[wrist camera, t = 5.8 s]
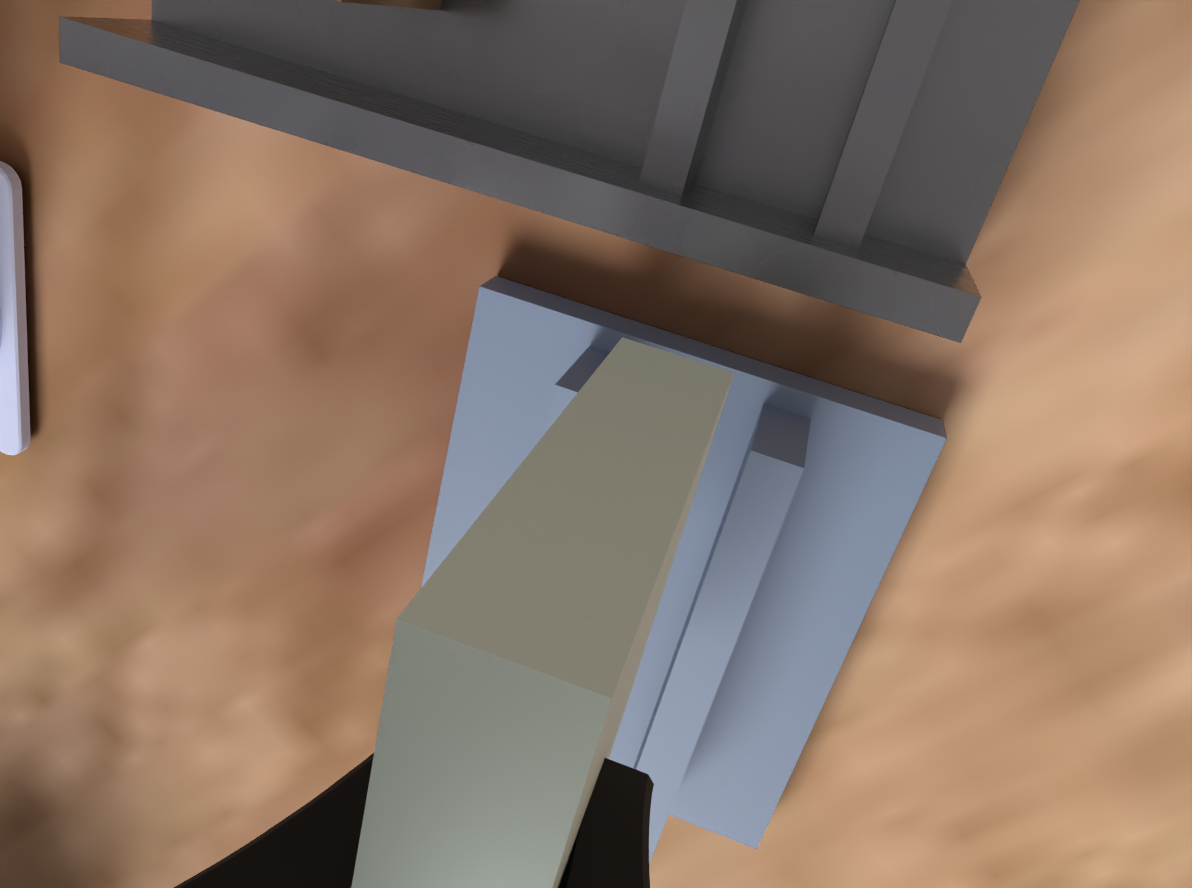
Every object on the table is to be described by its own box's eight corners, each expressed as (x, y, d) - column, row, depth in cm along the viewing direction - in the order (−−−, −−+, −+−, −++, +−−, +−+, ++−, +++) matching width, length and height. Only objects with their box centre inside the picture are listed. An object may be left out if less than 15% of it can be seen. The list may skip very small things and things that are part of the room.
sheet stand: (413, 685, 26) (352, 772, 23) (495, 275, 21) (431, 317, 17) (760, 820, 25) (745, 932, 21) (943, 419, 19) (959, 492, 16)
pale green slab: (492, 835, 17) (283, 1287, 11) (622, 337, 13) (396, 618, 7) (573, 868, 17) (408, 1347, 11) (734, 372, 13) (612, 698, 6)
